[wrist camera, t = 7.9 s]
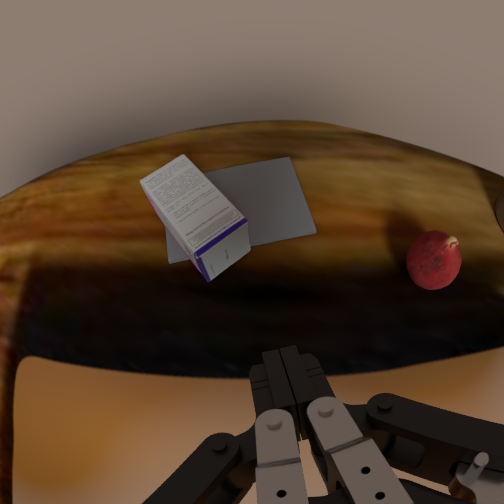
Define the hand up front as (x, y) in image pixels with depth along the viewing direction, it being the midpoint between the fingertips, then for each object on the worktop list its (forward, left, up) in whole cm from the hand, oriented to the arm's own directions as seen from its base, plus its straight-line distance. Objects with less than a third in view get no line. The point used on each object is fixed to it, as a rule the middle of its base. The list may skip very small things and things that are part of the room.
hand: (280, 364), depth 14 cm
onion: (-18, -7, -16) cm, 25 cm away
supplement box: (+1, -12, -12) cm, 17 cm away
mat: (0, -20, -16) cm, 25 cm away
